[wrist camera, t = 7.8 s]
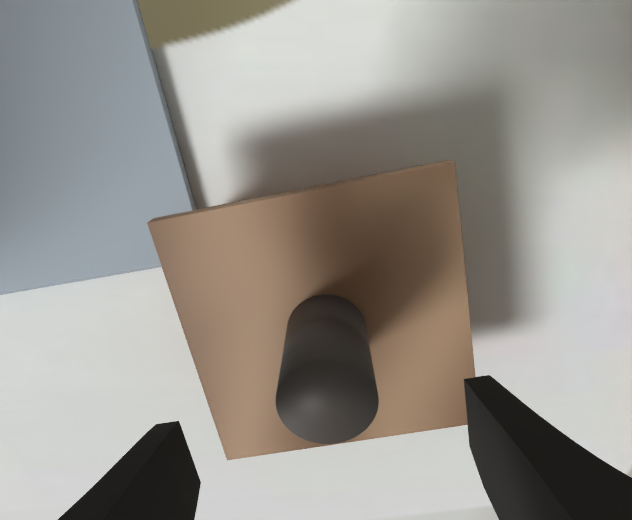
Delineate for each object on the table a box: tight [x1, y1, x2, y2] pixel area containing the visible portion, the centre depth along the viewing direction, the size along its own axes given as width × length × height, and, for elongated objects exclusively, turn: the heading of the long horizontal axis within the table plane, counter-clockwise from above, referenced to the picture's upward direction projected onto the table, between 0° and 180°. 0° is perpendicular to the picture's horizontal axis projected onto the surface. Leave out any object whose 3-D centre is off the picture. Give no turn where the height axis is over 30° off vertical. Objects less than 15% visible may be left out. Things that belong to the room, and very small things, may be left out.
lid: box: [147, 160, 475, 460], centre depth 14 cm, size 10×10×5 cm
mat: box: [0, 0, 196, 295], centre depth 17 cm, size 11×11×1 cm
